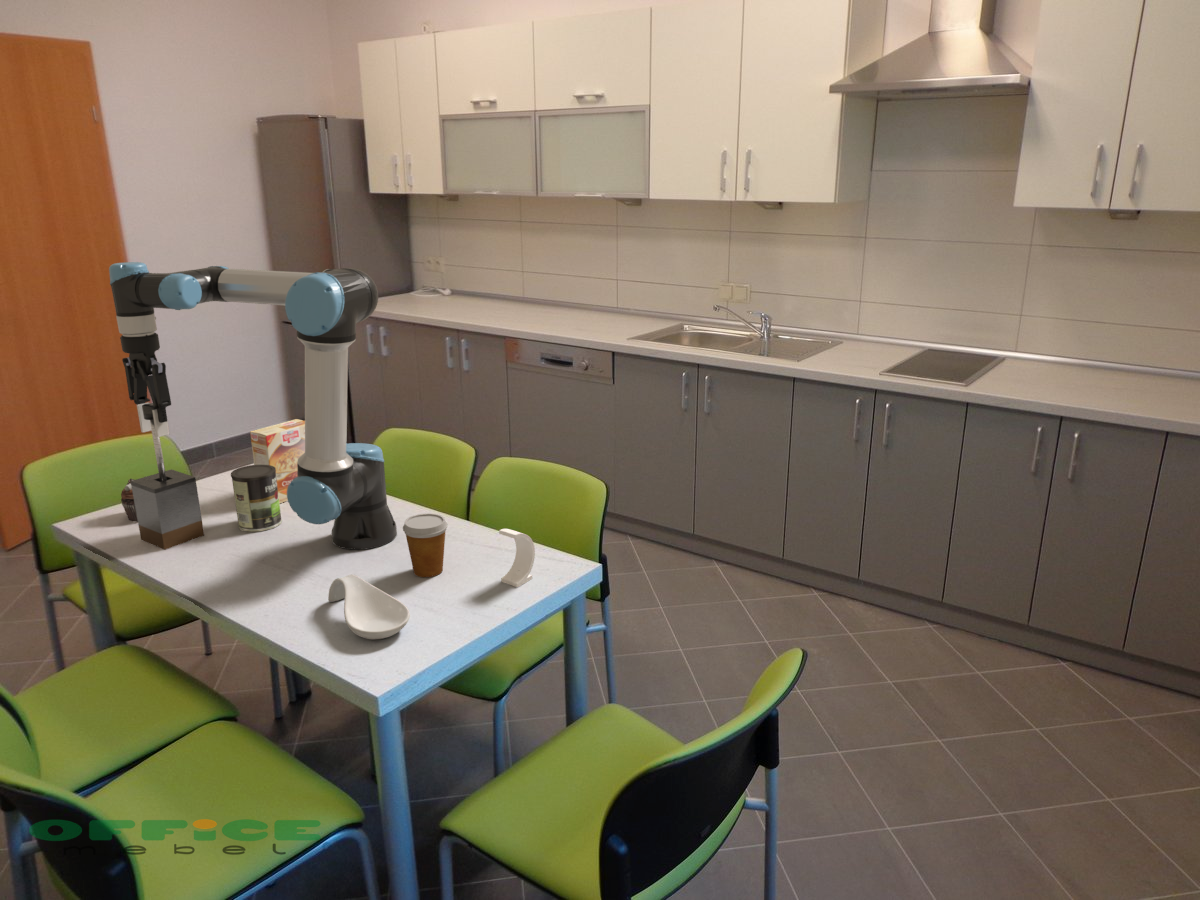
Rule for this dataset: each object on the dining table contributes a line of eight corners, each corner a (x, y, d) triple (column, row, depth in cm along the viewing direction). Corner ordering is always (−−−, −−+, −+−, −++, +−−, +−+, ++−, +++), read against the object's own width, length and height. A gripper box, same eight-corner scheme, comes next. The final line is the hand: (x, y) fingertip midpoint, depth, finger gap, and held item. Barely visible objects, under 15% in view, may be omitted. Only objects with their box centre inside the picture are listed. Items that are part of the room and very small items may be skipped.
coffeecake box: (274, 506, 225) (265, 435, 219) (257, 500, 229) (248, 431, 223) (320, 489, 237) (313, 421, 231) (303, 484, 241) (295, 417, 235)
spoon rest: (422, 633, 163) (419, 600, 161) (365, 655, 156) (362, 620, 154) (363, 590, 180) (360, 559, 178) (310, 608, 173) (306, 576, 171)
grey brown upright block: (204, 535, 207) (195, 477, 202) (164, 549, 199) (154, 489, 194) (180, 526, 212) (171, 469, 208) (141, 540, 204) (130, 481, 200)
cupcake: (125, 526, 213) (118, 488, 210) (124, 513, 221) (117, 476, 218) (167, 518, 217) (161, 481, 214) (165, 506, 225) (159, 470, 222)
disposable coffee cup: (457, 565, 191) (455, 515, 188) (436, 583, 183) (433, 532, 179) (420, 559, 194) (416, 510, 191) (397, 577, 186) (393, 526, 182)
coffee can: (288, 516, 219) (282, 464, 214) (272, 532, 209) (265, 478, 205) (248, 516, 219) (241, 463, 215) (230, 532, 209) (223, 477, 205)
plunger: (187, 487, 203) (173, 403, 196) (158, 496, 197) (144, 410, 191) (170, 482, 206) (157, 399, 200) (142, 490, 201) (127, 406, 195)
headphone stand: (501, 581, 184) (499, 530, 180) (519, 571, 188) (517, 521, 185) (517, 587, 181) (515, 535, 177) (535, 577, 186) (534, 525, 182)
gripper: (178, 335, 188) (194, 435, 196) (132, 327, 198) (148, 423, 206) (145, 340, 183) (162, 444, 190) (99, 331, 192) (117, 430, 200)
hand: (155, 432), depth 198 cm, fingers open, 6 cm apart
